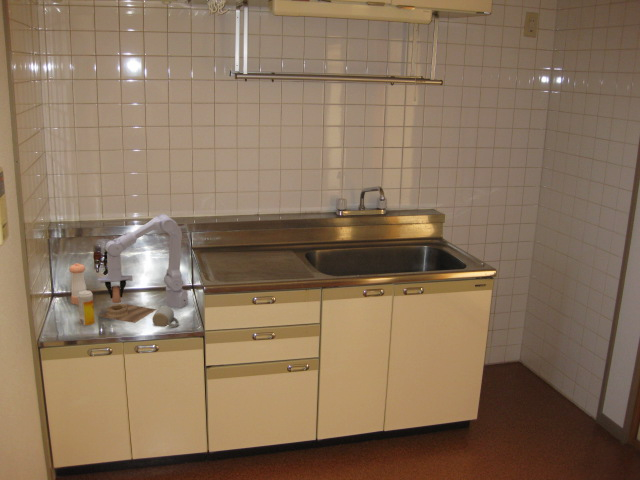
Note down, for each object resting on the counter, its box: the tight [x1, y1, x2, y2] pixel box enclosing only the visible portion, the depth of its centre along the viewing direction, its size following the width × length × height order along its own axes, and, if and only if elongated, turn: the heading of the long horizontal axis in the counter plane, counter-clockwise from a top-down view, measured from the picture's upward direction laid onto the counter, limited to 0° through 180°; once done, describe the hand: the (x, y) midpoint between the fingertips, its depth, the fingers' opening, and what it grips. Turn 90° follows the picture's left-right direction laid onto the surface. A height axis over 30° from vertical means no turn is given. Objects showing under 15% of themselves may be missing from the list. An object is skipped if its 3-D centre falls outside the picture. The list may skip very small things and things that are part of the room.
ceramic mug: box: [152, 305, 180, 328], centre depth 287 cm, size 11×8×8 cm
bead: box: [105, 303, 128, 318], centre depth 295 cm, size 9×9×3 cm
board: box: [98, 303, 158, 324], centre depth 297 cm, size 19×17×1 cm
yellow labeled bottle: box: [77, 289, 96, 326], centre depth 284 cm, size 6×6×15 cm
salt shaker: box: [68, 262, 87, 306], centre depth 309 cm, size 7×7×19 cm
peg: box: [111, 285, 122, 304], centre depth 293 cm, size 4×4×7 cm
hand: (116, 297), depth 293 cm, fingers closed on peg, 4 cm apart
